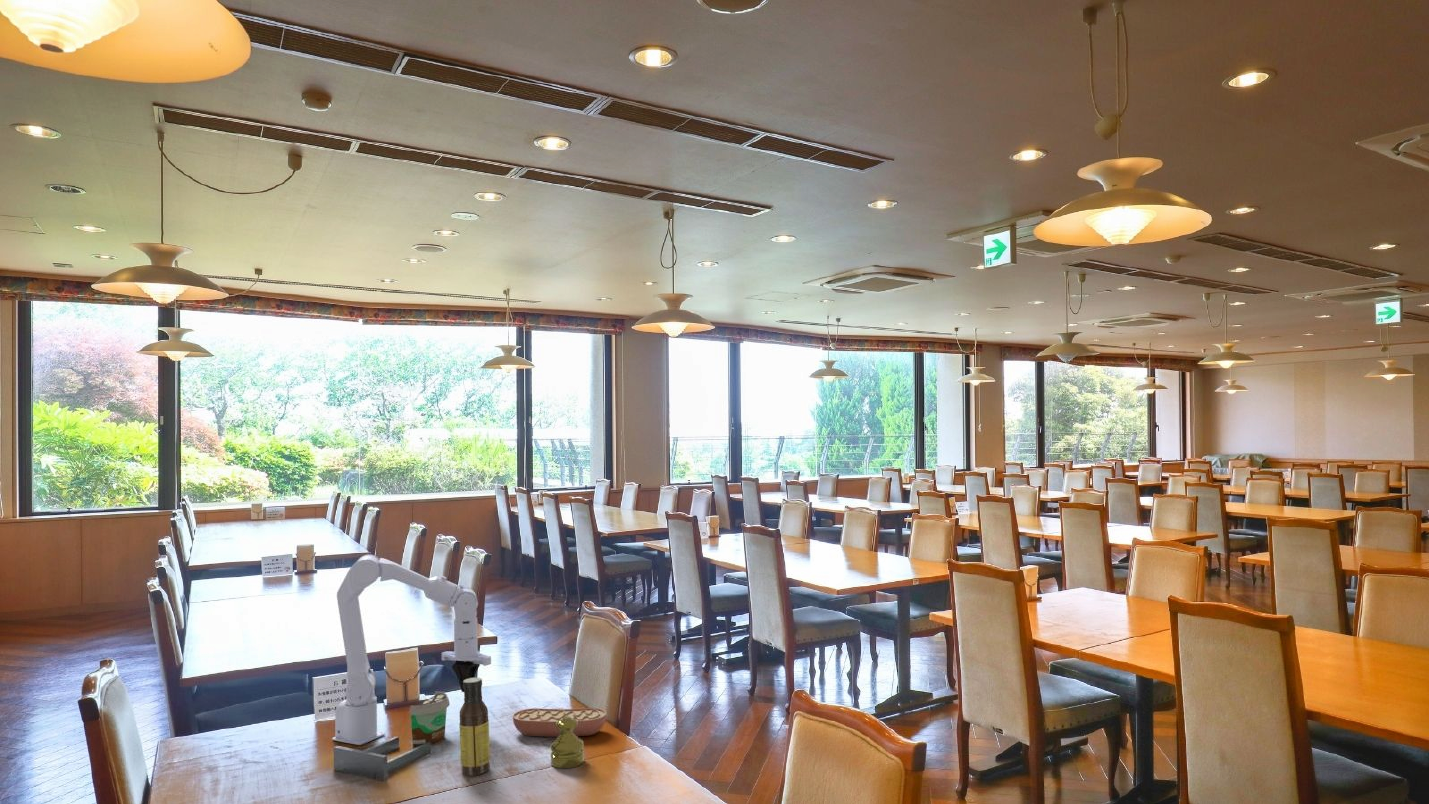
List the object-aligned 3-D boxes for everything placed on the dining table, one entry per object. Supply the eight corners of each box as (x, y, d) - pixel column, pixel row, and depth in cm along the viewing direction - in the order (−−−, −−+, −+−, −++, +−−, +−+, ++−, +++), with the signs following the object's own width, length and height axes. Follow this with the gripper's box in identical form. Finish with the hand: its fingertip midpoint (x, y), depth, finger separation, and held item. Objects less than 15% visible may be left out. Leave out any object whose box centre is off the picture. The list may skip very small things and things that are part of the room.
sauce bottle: (490, 764, 190) (490, 674, 191) (489, 775, 184) (488, 682, 185) (460, 767, 189) (460, 676, 190) (458, 778, 183) (458, 684, 184)
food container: (433, 750, 199) (432, 707, 200) (409, 749, 200) (409, 706, 201) (459, 732, 211) (458, 691, 212) (436, 731, 213) (436, 690, 213)
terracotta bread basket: (609, 728, 213) (609, 708, 213) (602, 742, 203) (601, 721, 203) (518, 728, 214) (518, 708, 214) (507, 742, 204) (507, 721, 204)
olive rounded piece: (589, 758, 193) (589, 713, 193) (574, 771, 186) (573, 724, 186) (561, 755, 195) (560, 711, 196) (544, 767, 188) (543, 721, 189)
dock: (333, 770, 188) (333, 747, 188) (389, 745, 203) (389, 724, 203) (383, 781, 182) (383, 757, 182) (437, 755, 196) (437, 733, 197)
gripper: (498, 636, 217) (499, 689, 217) (454, 631, 223) (455, 683, 223) (480, 642, 211) (480, 697, 210) (435, 637, 217) (435, 691, 216)
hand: (466, 691), depth 216 cm, fingers closed
